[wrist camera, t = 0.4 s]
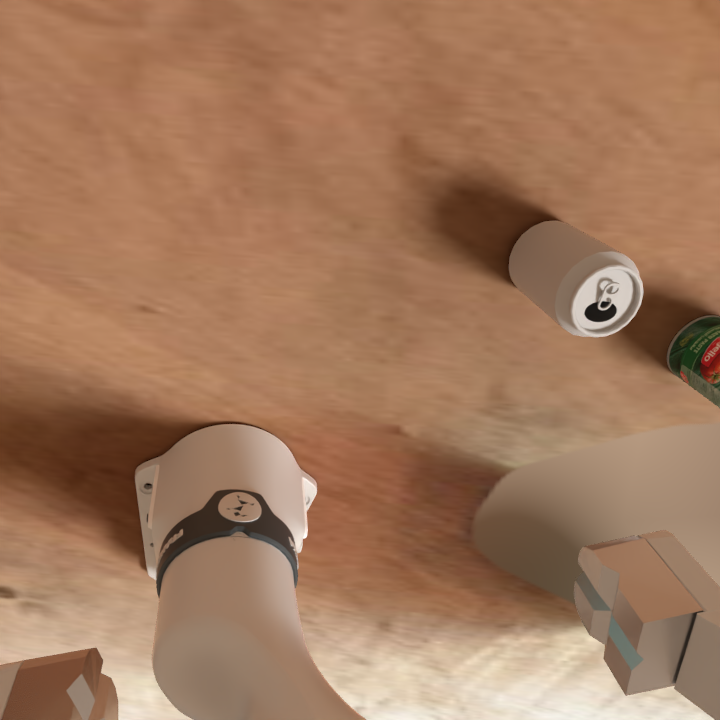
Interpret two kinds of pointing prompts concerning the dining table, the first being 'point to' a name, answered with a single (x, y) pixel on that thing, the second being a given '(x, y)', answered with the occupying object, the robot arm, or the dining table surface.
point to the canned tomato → (698, 356)
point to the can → (576, 279)
